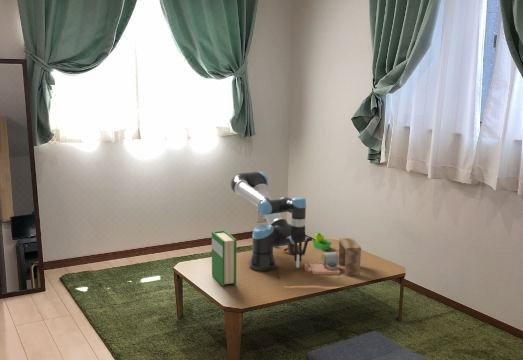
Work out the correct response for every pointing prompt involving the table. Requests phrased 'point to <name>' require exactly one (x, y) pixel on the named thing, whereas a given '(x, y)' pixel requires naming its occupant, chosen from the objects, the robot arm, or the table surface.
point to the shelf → (349, 256)
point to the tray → (320, 269)
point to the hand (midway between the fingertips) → (297, 266)
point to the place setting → (292, 248)
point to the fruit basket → (321, 242)
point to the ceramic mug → (329, 260)
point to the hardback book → (223, 257)
